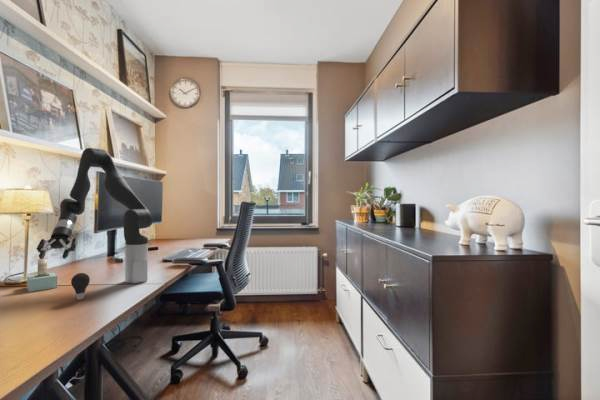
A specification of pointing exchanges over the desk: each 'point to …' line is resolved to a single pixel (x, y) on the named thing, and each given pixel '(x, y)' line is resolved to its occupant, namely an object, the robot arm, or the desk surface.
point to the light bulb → (80, 284)
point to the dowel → (42, 267)
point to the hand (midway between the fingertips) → (52, 258)
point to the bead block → (41, 282)
